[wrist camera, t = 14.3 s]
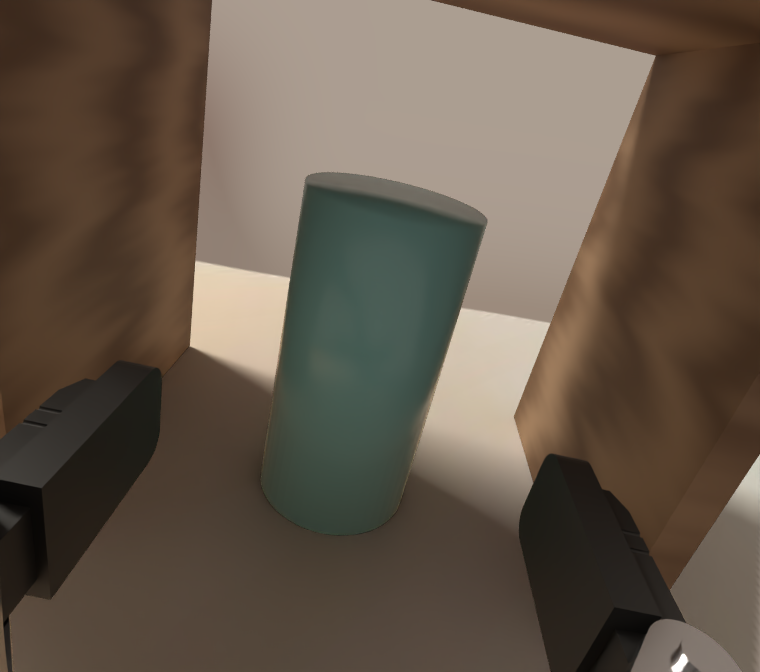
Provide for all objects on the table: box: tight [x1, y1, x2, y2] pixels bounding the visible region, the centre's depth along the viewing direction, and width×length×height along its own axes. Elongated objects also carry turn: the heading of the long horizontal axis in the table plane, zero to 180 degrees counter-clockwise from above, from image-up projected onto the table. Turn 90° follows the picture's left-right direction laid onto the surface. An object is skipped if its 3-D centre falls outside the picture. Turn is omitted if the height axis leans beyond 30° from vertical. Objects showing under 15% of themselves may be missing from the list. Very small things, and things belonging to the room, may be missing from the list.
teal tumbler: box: [260, 172, 487, 535], centre depth 20 cm, size 6×6×12 cm
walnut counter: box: [0, 0, 760, 590], centre depth 19 cm, size 14×21×20 cm, turn 86°
